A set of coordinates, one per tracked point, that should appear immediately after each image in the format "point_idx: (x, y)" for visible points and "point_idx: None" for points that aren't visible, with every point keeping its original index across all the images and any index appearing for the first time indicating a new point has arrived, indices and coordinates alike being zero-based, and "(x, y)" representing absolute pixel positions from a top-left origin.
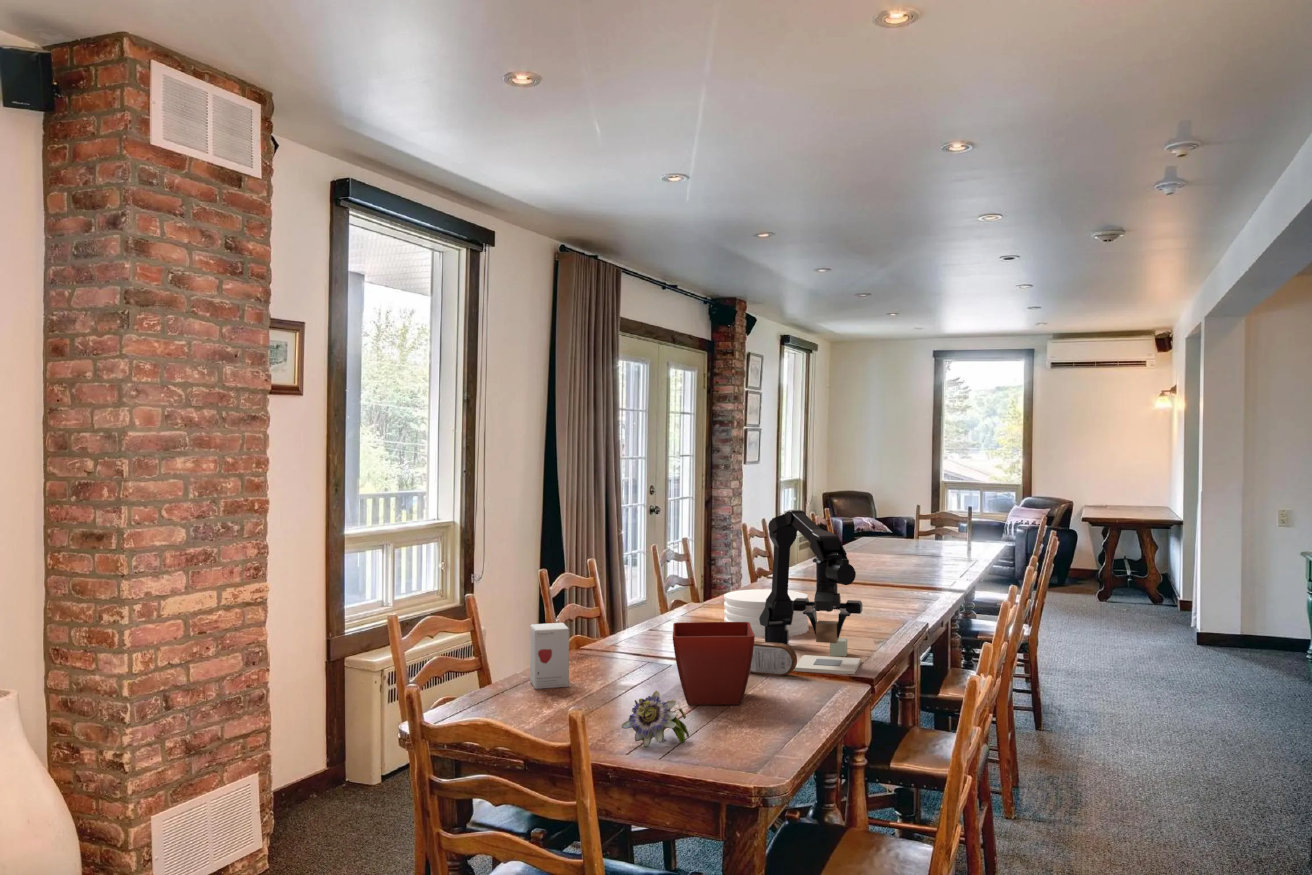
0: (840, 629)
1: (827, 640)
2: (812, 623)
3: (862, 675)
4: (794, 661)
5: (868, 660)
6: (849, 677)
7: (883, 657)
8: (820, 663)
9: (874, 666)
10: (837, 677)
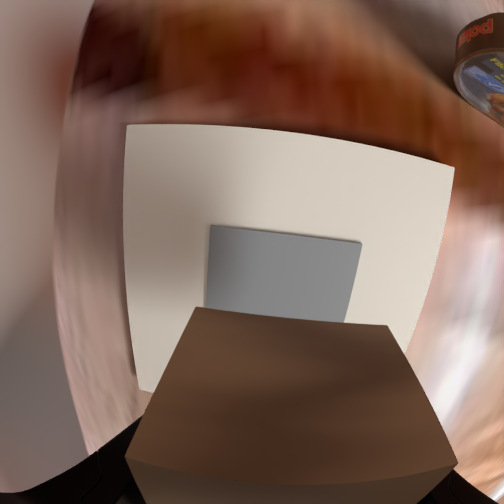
0: (125, 433)
1: (282, 329)
2: (455, 480)
3: (102, 128)
4: (469, 23)
5: (124, 396)
6: (160, 68)
7: (97, 421)
8: (321, 264)
9: (81, 312)
10: (220, 52)
